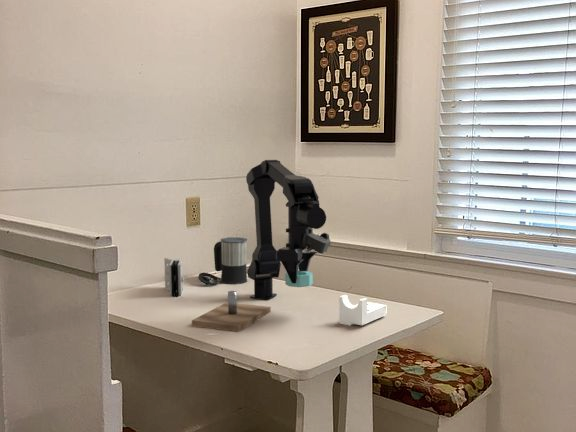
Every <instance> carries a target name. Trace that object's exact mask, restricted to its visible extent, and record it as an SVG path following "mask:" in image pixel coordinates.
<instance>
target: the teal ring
mask: <svg viewBox="0 0 576 432" xmlns="http://www.w3.org/2000/svg"><path fill="white" fill-rule="evenodd" d="M313 274H314V273H313V272H311V271H309V270H308V271H299V270H298V274H297V281H296V283H292V282H291V280H290V278H289V276H288V274H287V272H285V275H284V278H285V282H284V284H285V285H286V286H287V287H292V288H305V287H310V286H312V285H313V283H314V282H313V281H314V280H313V279H314V278H313V277H314V275H313Z"/></svg>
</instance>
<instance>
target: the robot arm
mask: <svg viewBox="0 0 576 432" xmlns="http://www.w3.org/2000/svg"><path fill="white" fill-rule="evenodd" d="M245 180H246V183H247V186H248V187H247V188H248V192H249V193H250V195H251V197H253V199H254V215H255V216H254V217H255V218H254V219H255V235H256V247H255V249H254V251H253V253H251V254H252V255H251V257H252V260H251V262H250V264H249V266H248V268H247V269H246V271H247V279H250V280H252V281H253V294H252V295H250V296H249V298H250V299H256V300H257V299H258V300H271V299H272V298H275V297H277V295H278V294H277V293H275V292H274V291H273V290H274V289H273V286H274V285H273V284H274V283H273V279H276V278H279V276H280V272H281V271H280V270H281V265H283V268H284V269H285V271H286V273H287V274H288V276H289V278H290V280H291V282H292V283H296V281H297V274H298V271H309V266H310V263H311V259H312V258H313V257H314V256H315V255H317V253H319V254H322V255H323V254H324V253H325V252H327V251H328V248H329V246H331V239H330V234H329V233H327V232H322V233H321V234H320V235H319V234H315V233H314V232H313V230H317V229H321V228H322V227H324V226H325V224H326V221H327V214H326V212H325V210H324V209H323V208H322V207H320V200H319V199H320V197H319V195H318V193H317V191H316V189H315V186H314V183H313V181H312V180H311V179H310V178H309V177H306V176H301V175H297V174H294V173H293V172H292V171H291V170H290V169H288V168H287V167H285V166H284V165H283V164H282V163H281V161H280V160H278V159H265V160H262V161H261V163H260V164H258V165H256V166H254V167H252V168H250V170H249V171H248V173H247V174H246V179H245ZM276 183H277V184H278V185H279V186H281V187H282V194H283V195H284V197H285V198H286V199H287V202H286V203H285V207H286V208H287V210H288V211H287V212H288V214H287V218H288V223H287V224H288V226H287V227H286V228H285V233H288V234H287V237H288V240H287V241H288V242H287V243H285V246H284V247H281V248H278V249H276V248H275V247H274V245H273V228H272V212H271V210H272V209H271V197H272V195H273V194H274V191H275V189H276V187H275V185H276Z"/></svg>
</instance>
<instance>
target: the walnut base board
mask: <svg viewBox="0 0 576 432" xmlns="http://www.w3.org/2000/svg"><path fill="white" fill-rule="evenodd" d="M271 311H272V307H271V306H266V305H265V306H264V305H256V304H248V303H238V302H237V314H233V315H231V314H228V301H227V302H225V303H223V304H221V305H219V306H217V307H215V308H213V309H211V310H209V311H207V312H205V313H204V314H202V315H200V316H198V317H195V318H193V319H191V326H192V327H199V328H200V327H201V328H209V329H214V328H215V330H222V329H224V331H231V330H232V331H233V332H239V331H240V332H241V331H243V330H244V329H246V328H247V326H248V327H249V326H251V325H252V324H254V323H256V322H257V321H259V320H261V319H262V318H264V317H265V316H267V315H268V314H270V313H271ZM263 316H264V317H263ZM258 319H259V320H258ZM255 321H256V322H255ZM250 324H251V325H250Z"/></svg>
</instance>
